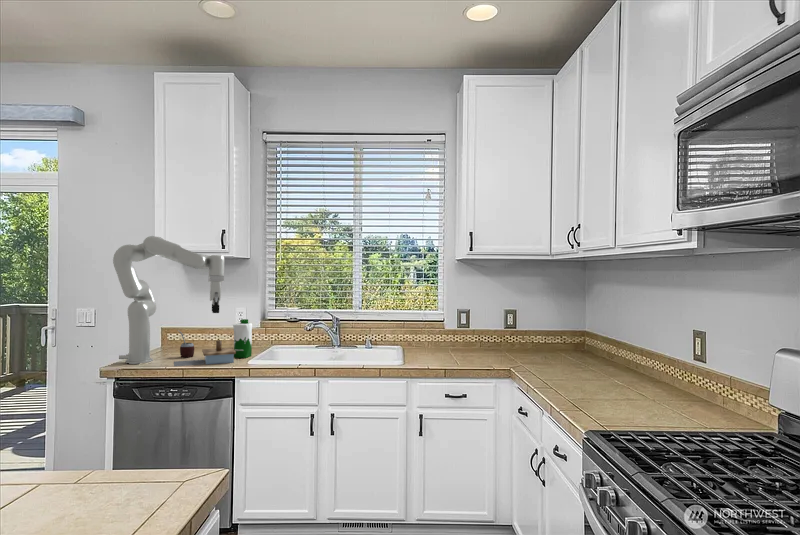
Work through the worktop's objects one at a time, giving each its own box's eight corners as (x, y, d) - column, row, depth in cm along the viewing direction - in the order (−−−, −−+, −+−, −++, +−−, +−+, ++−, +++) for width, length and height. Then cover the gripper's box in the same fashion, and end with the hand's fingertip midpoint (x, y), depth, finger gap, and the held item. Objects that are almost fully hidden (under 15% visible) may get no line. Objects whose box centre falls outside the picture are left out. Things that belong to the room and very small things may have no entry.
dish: (206, 365, 252) (206, 355, 252) (204, 361, 264) (204, 351, 264) (233, 363, 258) (233, 353, 258) (231, 359, 270) (231, 349, 270)
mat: (173, 367, 247) (173, 366, 247) (173, 362, 260) (173, 361, 260) (204, 365, 253) (204, 364, 253) (203, 360, 265) (203, 359, 265)
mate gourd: (195, 358, 271) (195, 330, 271) (179, 360, 267) (179, 331, 267) (192, 356, 278) (193, 329, 278) (177, 358, 273) (177, 329, 273)
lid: (203, 355, 251) (203, 343, 251) (202, 351, 265) (202, 339, 265) (235, 353, 257) (235, 341, 257) (232, 349, 271) (232, 338, 271)
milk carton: (253, 355, 281) (253, 319, 281) (246, 358, 272) (246, 321, 272) (238, 355, 282) (238, 319, 282) (231, 358, 273) (231, 320, 273)
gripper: (208, 278, 271) (207, 310, 271) (209, 279, 255) (208, 313, 255) (222, 278, 274) (222, 310, 274) (224, 279, 258) (224, 313, 258)
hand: (215, 312), depth 264 cm, fingers open, 9 cm apart
